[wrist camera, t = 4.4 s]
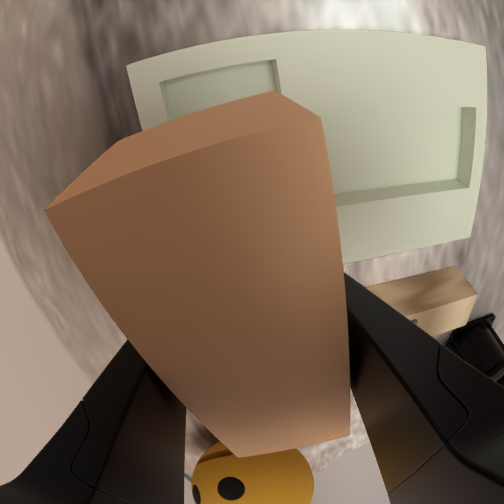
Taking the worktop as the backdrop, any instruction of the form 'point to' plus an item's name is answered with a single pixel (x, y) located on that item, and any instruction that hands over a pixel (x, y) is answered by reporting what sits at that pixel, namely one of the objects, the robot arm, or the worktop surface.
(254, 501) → the toy
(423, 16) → the worktop surface
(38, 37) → the worktop surface
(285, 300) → the orange rectangular block
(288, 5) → the worktop surface
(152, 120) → the jig
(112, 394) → the robot arm
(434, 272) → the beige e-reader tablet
